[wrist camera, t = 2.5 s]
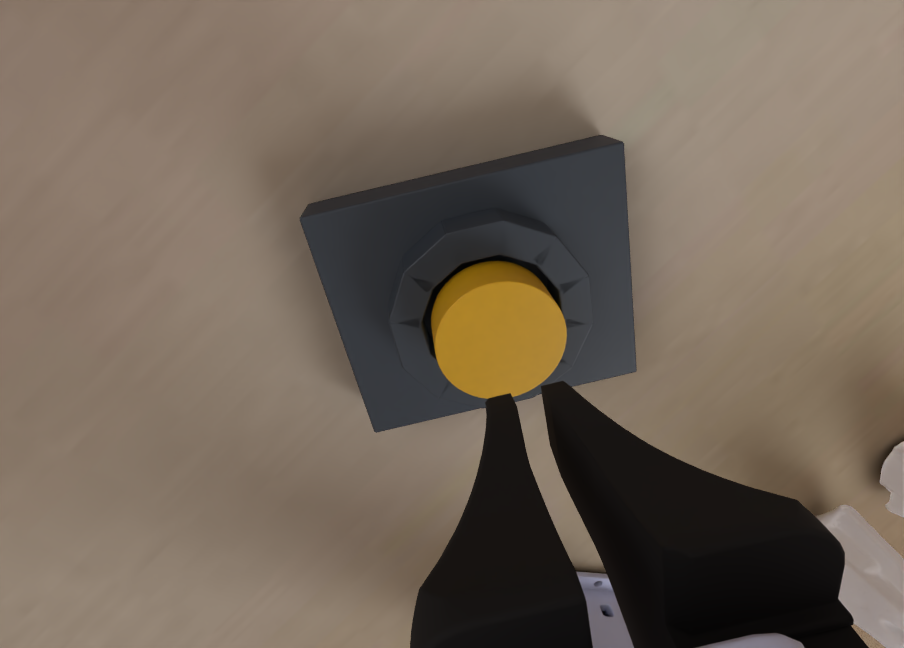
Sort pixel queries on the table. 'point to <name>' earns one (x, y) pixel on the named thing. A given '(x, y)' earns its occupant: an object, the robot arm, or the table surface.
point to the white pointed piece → (873, 562)
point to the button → (497, 330)
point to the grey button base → (471, 242)
